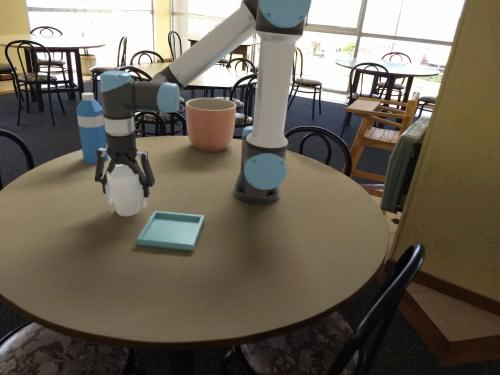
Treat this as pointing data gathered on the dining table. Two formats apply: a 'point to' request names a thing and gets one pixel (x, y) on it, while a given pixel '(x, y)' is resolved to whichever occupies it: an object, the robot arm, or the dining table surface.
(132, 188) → the foam cup
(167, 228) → the tray
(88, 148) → the water bottle
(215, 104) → the planter
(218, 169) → the dining table surface
